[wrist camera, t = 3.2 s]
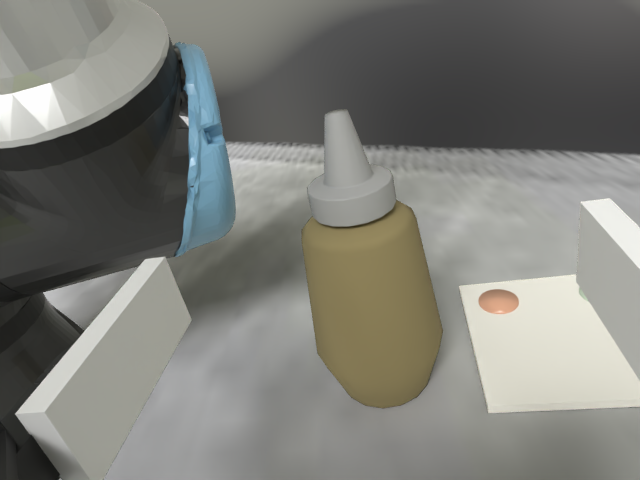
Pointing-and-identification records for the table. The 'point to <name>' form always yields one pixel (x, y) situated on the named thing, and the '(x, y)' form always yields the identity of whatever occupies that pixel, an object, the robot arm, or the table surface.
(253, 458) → the table surface
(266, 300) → the table surface
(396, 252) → the squeeze bottle
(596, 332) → the card
